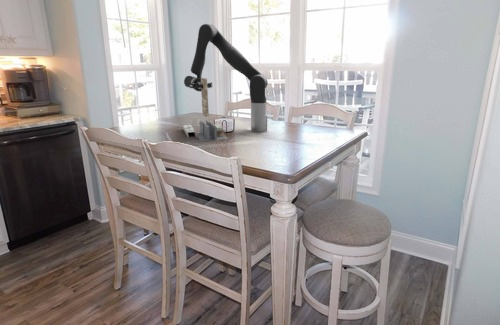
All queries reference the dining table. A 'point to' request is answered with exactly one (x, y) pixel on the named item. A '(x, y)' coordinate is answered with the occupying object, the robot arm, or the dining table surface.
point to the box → (188, 129)
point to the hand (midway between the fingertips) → (204, 86)
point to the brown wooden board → (204, 97)
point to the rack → (208, 132)
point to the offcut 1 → (219, 127)
